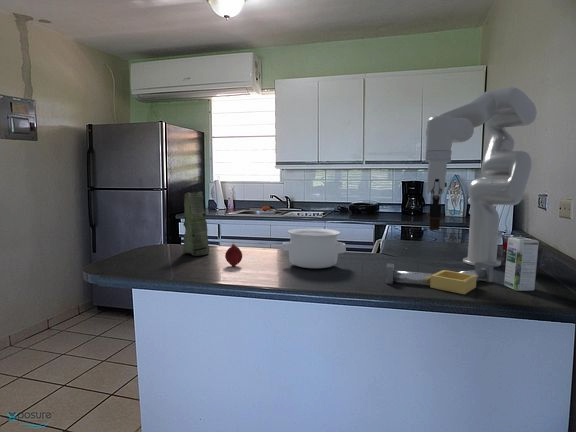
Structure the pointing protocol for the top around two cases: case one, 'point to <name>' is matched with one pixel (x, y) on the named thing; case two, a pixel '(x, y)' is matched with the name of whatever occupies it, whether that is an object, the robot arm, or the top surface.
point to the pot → (313, 247)
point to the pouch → (195, 225)
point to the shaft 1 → (406, 276)
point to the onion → (233, 255)
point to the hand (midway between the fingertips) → (435, 215)
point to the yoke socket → (453, 281)
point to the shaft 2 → (482, 272)
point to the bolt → (435, 221)
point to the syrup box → (521, 263)
